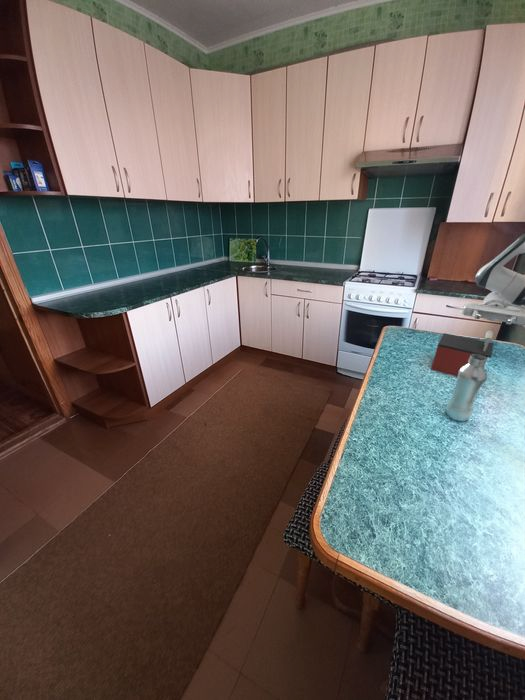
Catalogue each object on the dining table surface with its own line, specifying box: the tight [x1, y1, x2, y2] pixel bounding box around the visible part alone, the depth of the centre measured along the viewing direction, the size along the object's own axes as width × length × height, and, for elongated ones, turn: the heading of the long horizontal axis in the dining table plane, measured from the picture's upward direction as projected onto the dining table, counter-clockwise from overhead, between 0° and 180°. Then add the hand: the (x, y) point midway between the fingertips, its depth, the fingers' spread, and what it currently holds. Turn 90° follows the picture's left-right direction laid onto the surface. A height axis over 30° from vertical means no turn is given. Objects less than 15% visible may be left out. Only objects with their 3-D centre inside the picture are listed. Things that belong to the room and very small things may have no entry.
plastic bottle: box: [445, 354, 488, 422], centre depth 81 cm, size 6×7×20 cm
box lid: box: [437, 330, 494, 359], centre depth 103 cm, size 16×12×6 cm
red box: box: [430, 345, 489, 377], centre depth 107 cm, size 15×12×10 cm
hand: (492, 319), depth 106 cm, fingers open, 8 cm apart
